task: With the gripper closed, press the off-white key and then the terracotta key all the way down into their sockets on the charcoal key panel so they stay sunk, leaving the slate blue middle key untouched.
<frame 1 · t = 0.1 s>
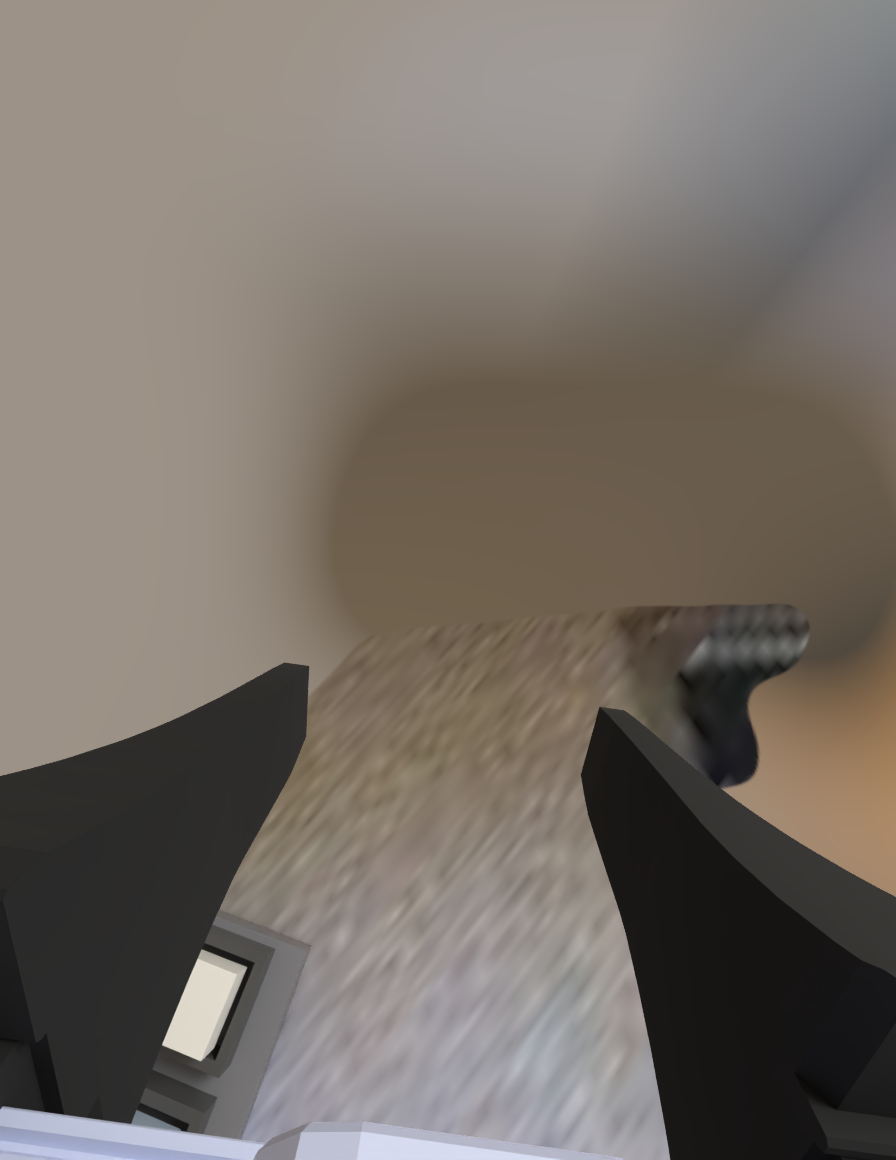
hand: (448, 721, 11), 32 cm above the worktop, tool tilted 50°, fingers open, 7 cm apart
key panel: (160, 1129, 29), on the worktop
off-white key: (196, 999, 28), point 5 cm above the worktop, slide at 0.0 cm
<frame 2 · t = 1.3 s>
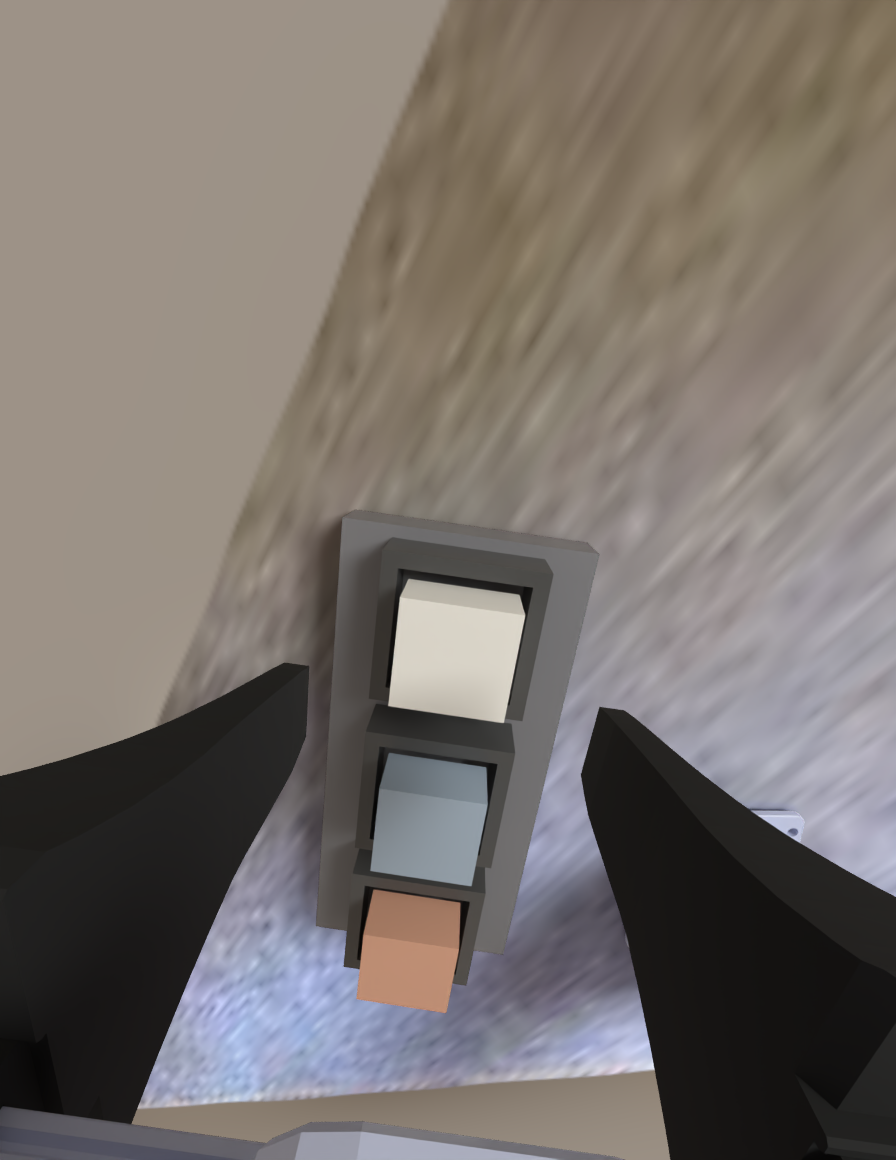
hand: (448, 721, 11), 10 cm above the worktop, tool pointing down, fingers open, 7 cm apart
slate blue key: (429, 818, 18), point 5 cm above the worktop, slide at 0.0 cm
key panel: (438, 742, 23), on the worktop
terracotta key: (409, 950, 21), point 5 cm above the worktop, slide at 0.0 cm
off-white key: (455, 649, 16), point 5 cm above the worktop, slide at 0.0 cm
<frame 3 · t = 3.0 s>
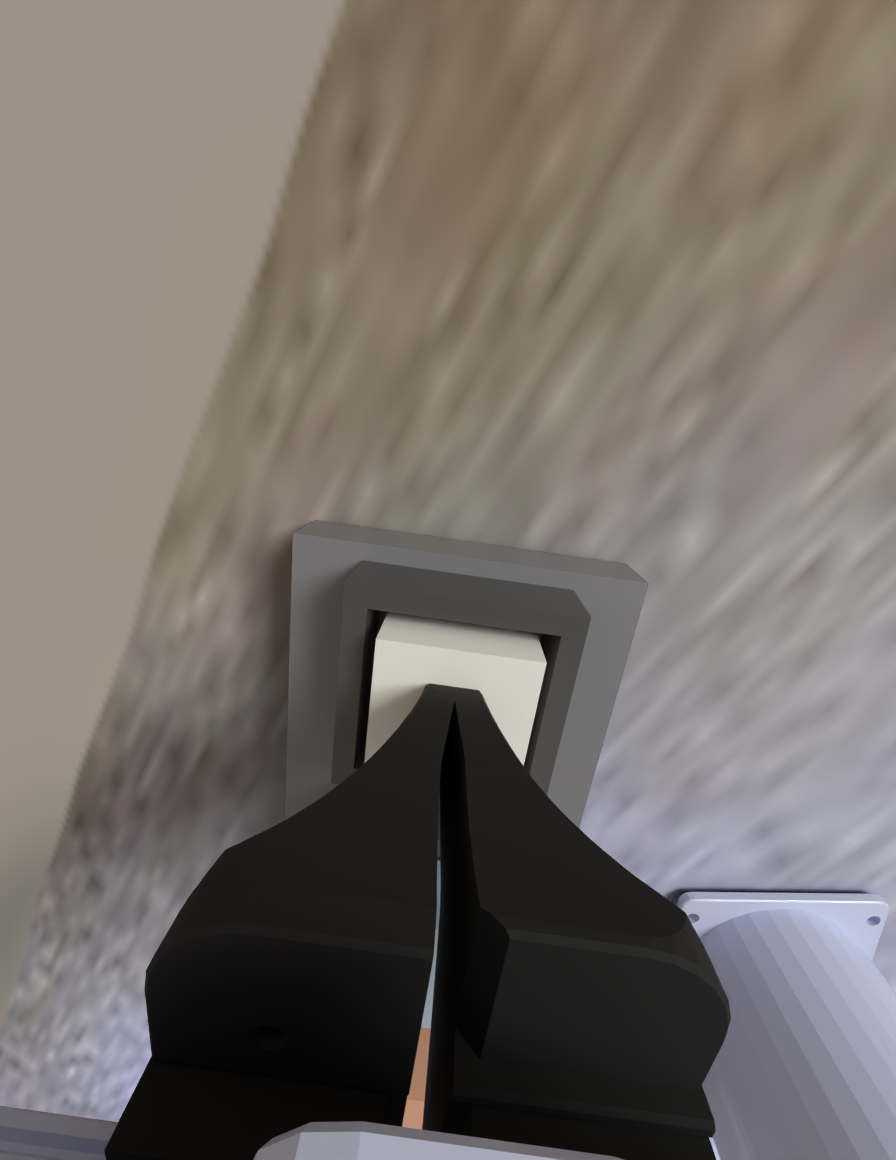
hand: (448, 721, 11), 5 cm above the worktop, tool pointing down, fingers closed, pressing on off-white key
slate blue key: (415, 939, 14), point 5 cm above the worktop, slide at 0.0 cm
key panel: (429, 811, 18), on the worktop
terracotta key: (391, 1091, 16), point 5 cm above the worktop, slide at 0.0 cm
off-white key: (451, 701, 12), point 4 cm above the worktop, slide at 1.1 cm, touching gripper
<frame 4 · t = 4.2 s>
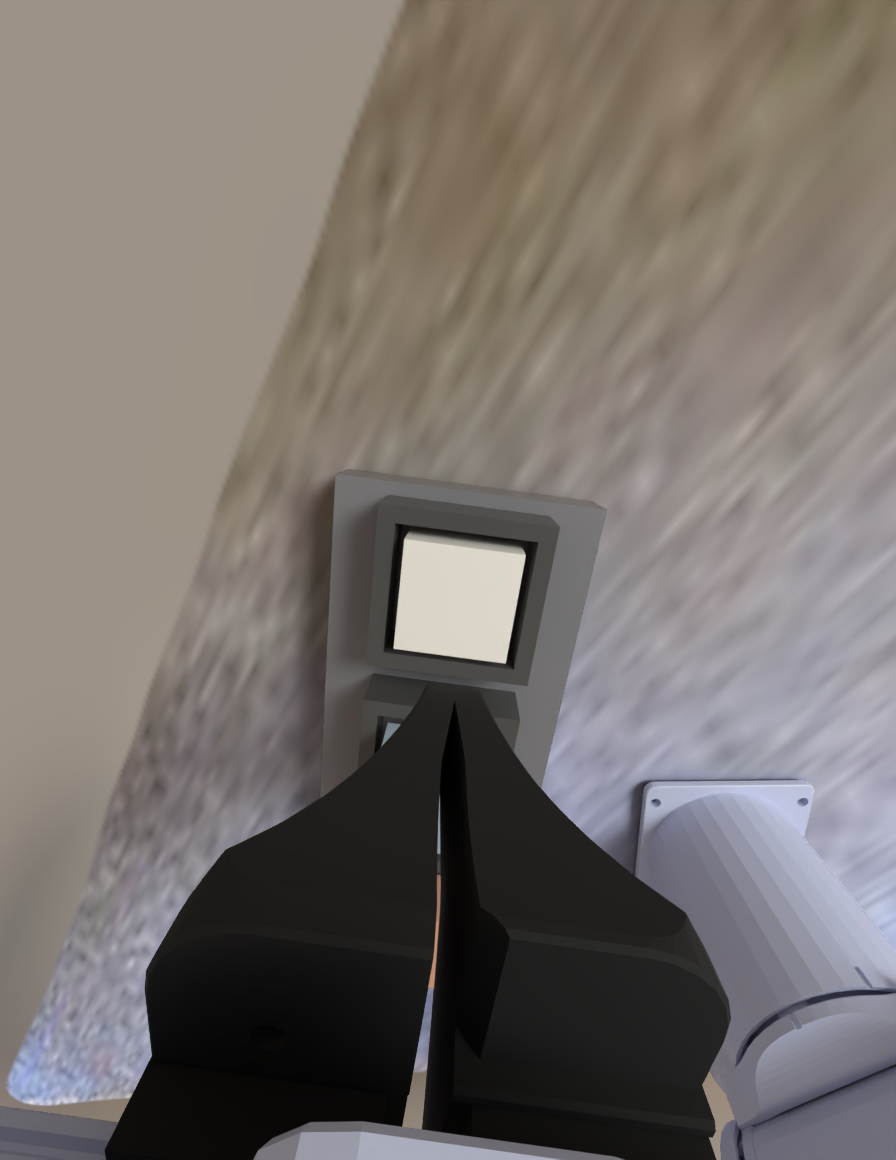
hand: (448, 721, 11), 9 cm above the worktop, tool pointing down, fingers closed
slate blue key: (431, 789, 18), point 5 cm above the worktop, slide at 0.0 cm
key panel: (438, 715, 22), on the worktop
terracotta key: (411, 927, 20), point 5 cm above the worktop, slide at 0.0 cm
off-white key: (457, 593, 17), point 3 cm above the worktop, slide at 1.4 cm
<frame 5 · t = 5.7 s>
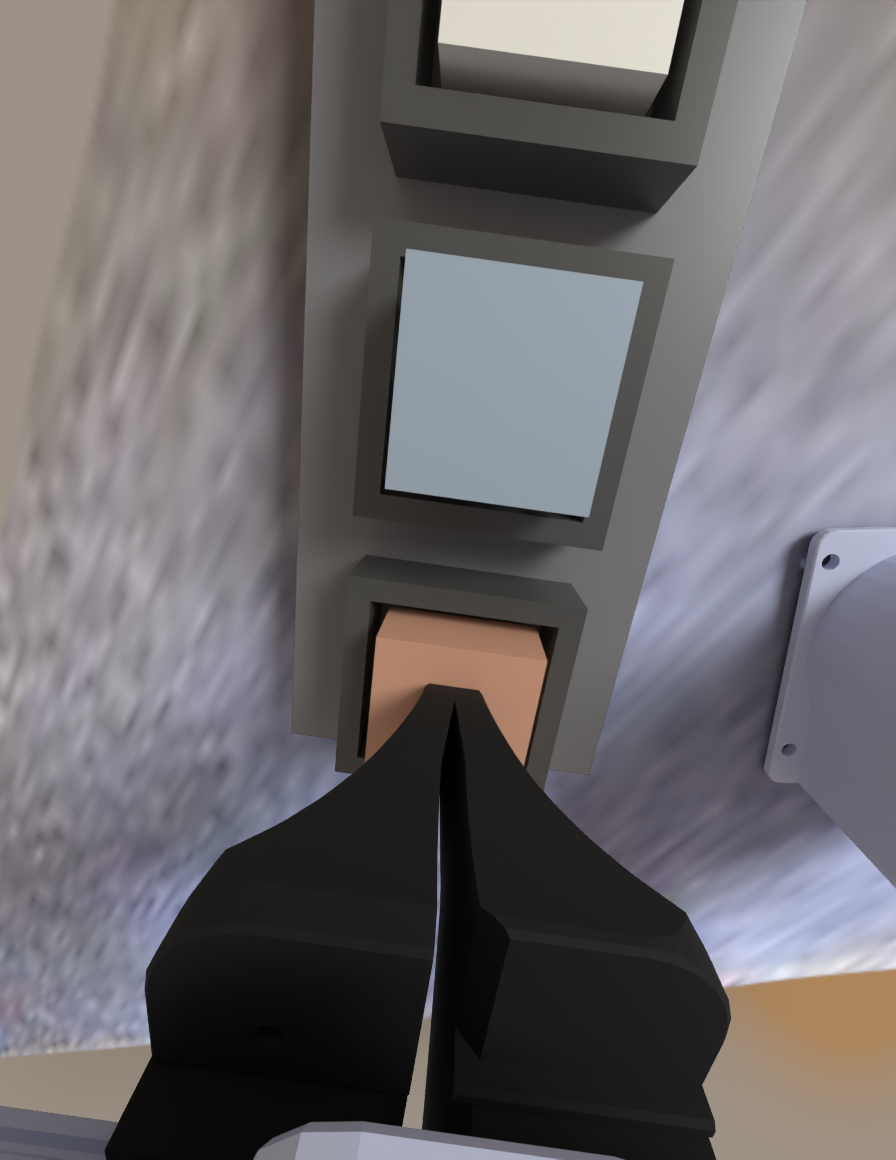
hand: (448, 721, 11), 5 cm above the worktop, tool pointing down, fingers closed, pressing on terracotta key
slate blue key: (500, 396, 9), point 5 cm above the worktop, slide at 0.0 cm
key panel: (490, 407, 14), on the worktop
terracotta key: (451, 699, 12), point 4 cm above the worktop, slide at 0.7 cm, touching gripper
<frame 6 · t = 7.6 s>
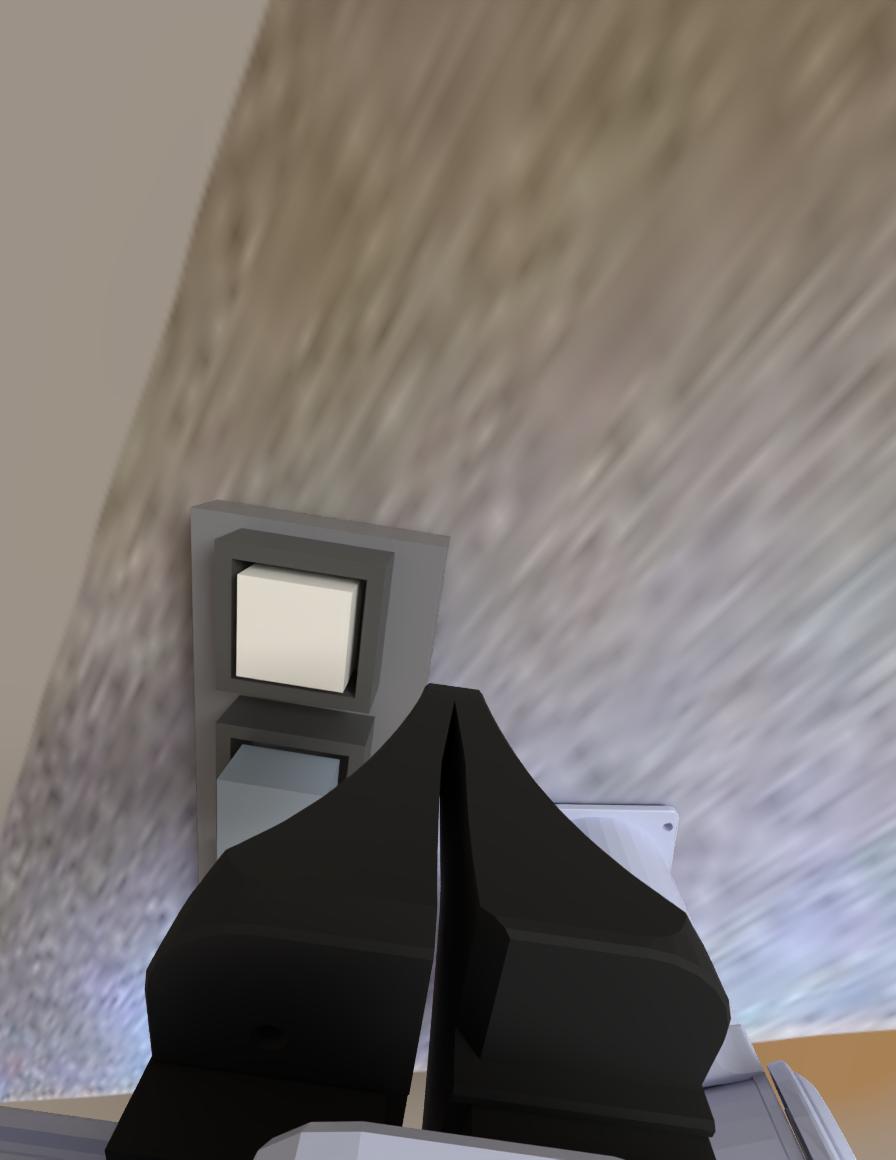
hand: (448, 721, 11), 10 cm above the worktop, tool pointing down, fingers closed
slate blue key: (279, 809, 18), point 5 cm above the worktop, slide at 0.0 cm
key panel: (317, 734, 23), on the worktop
off-white key: (301, 624, 17), point 3 cm above the worktop, slide at 1.4 cm
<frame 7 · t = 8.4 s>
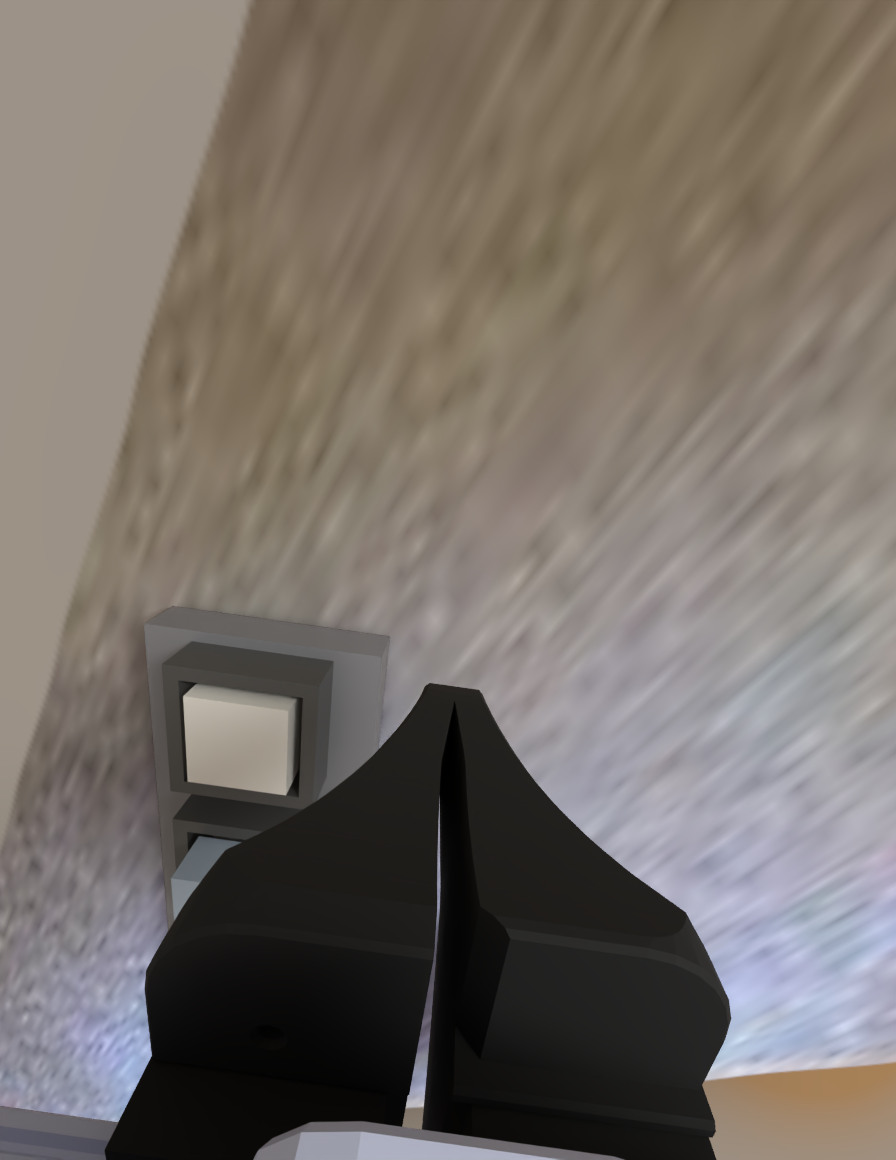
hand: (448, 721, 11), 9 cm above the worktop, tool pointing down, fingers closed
slate blue key: (233, 897, 20), point 5 cm above the worktop, slide at 0.0 cm
key panel: (277, 810, 24), on the worktop
off-white key: (247, 731, 19), point 3 cm above the worktop, slide at 1.4 cm
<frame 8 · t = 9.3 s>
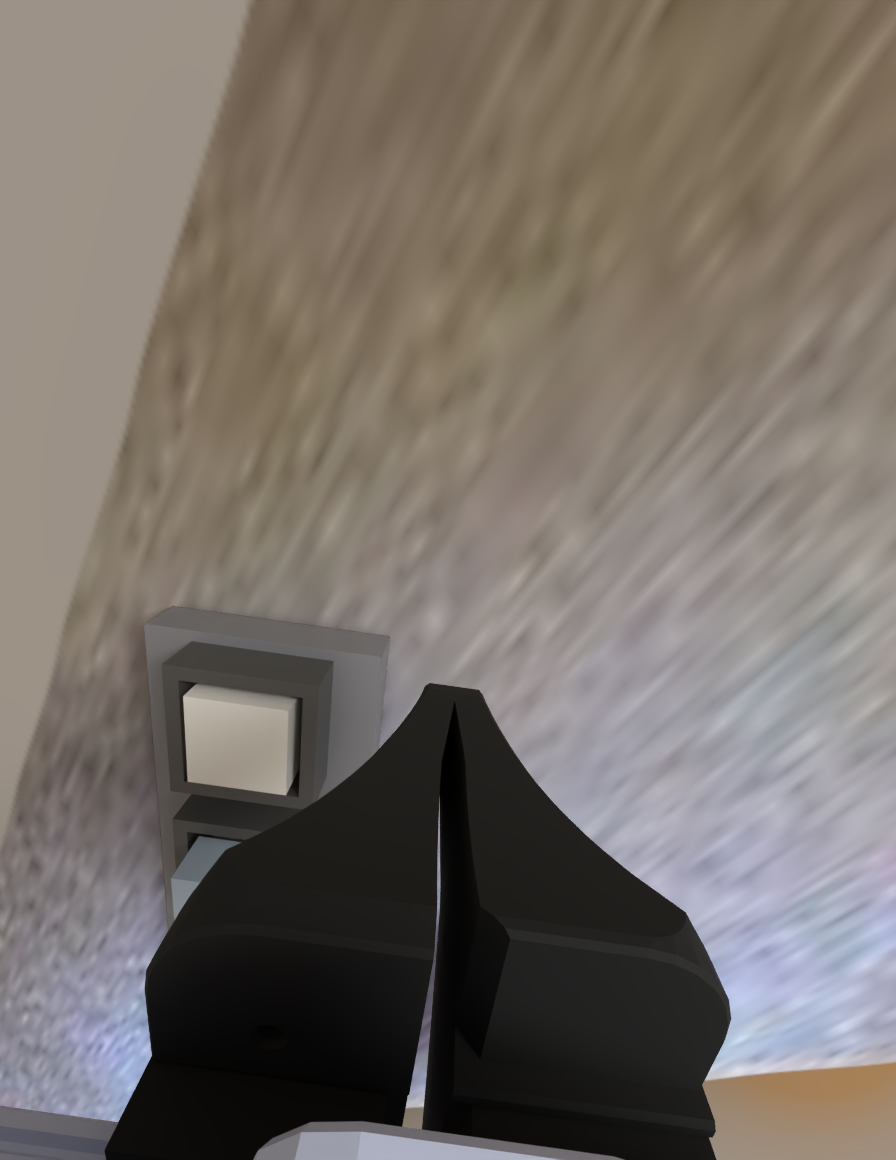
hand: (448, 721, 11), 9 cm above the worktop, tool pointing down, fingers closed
slate blue key: (233, 897, 20), point 5 cm above the worktop, slide at 0.0 cm
key panel: (277, 810, 24), on the worktop
off-white key: (247, 731, 19), point 3 cm above the worktop, slide at 1.4 cm
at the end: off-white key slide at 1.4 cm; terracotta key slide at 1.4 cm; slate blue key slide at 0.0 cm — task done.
